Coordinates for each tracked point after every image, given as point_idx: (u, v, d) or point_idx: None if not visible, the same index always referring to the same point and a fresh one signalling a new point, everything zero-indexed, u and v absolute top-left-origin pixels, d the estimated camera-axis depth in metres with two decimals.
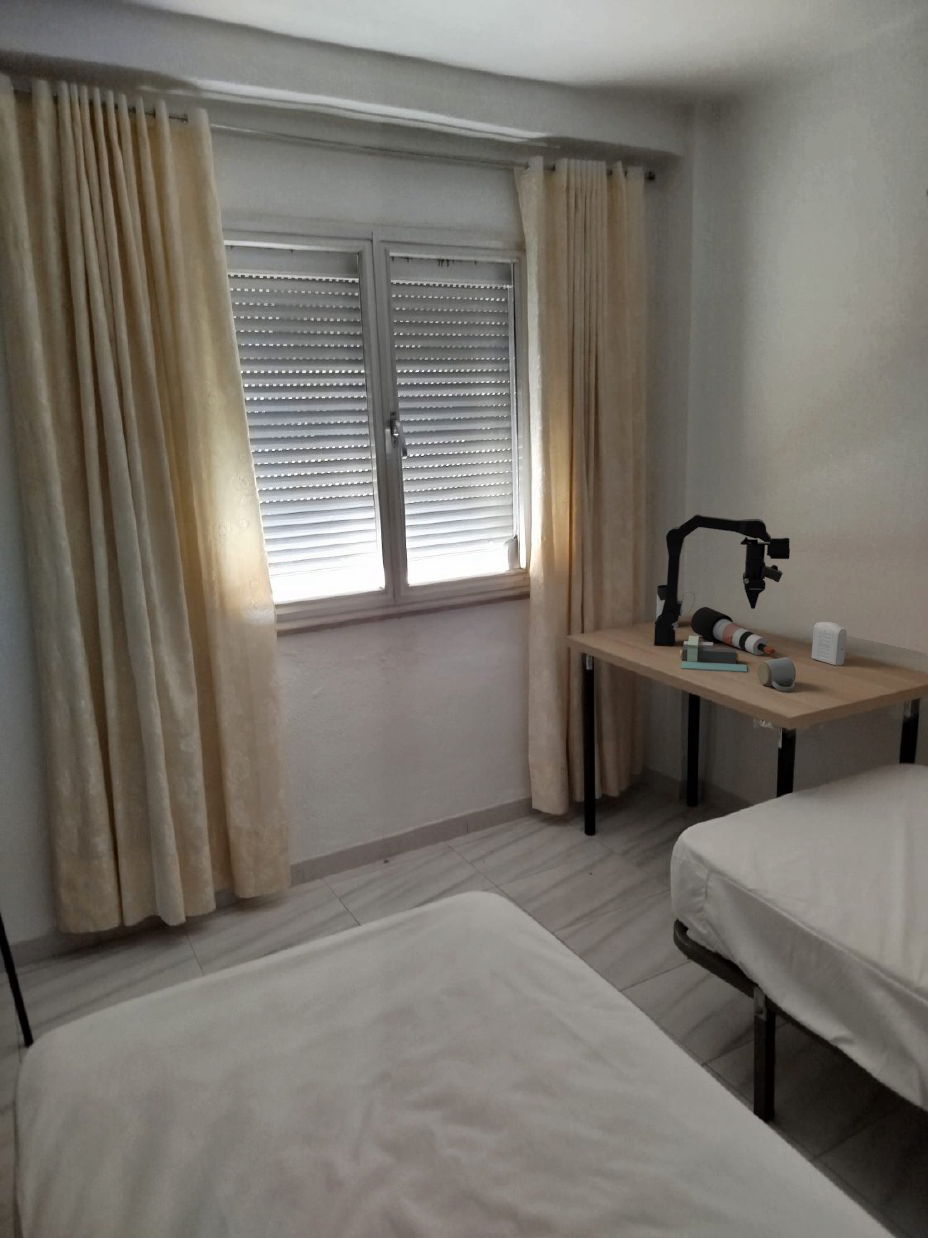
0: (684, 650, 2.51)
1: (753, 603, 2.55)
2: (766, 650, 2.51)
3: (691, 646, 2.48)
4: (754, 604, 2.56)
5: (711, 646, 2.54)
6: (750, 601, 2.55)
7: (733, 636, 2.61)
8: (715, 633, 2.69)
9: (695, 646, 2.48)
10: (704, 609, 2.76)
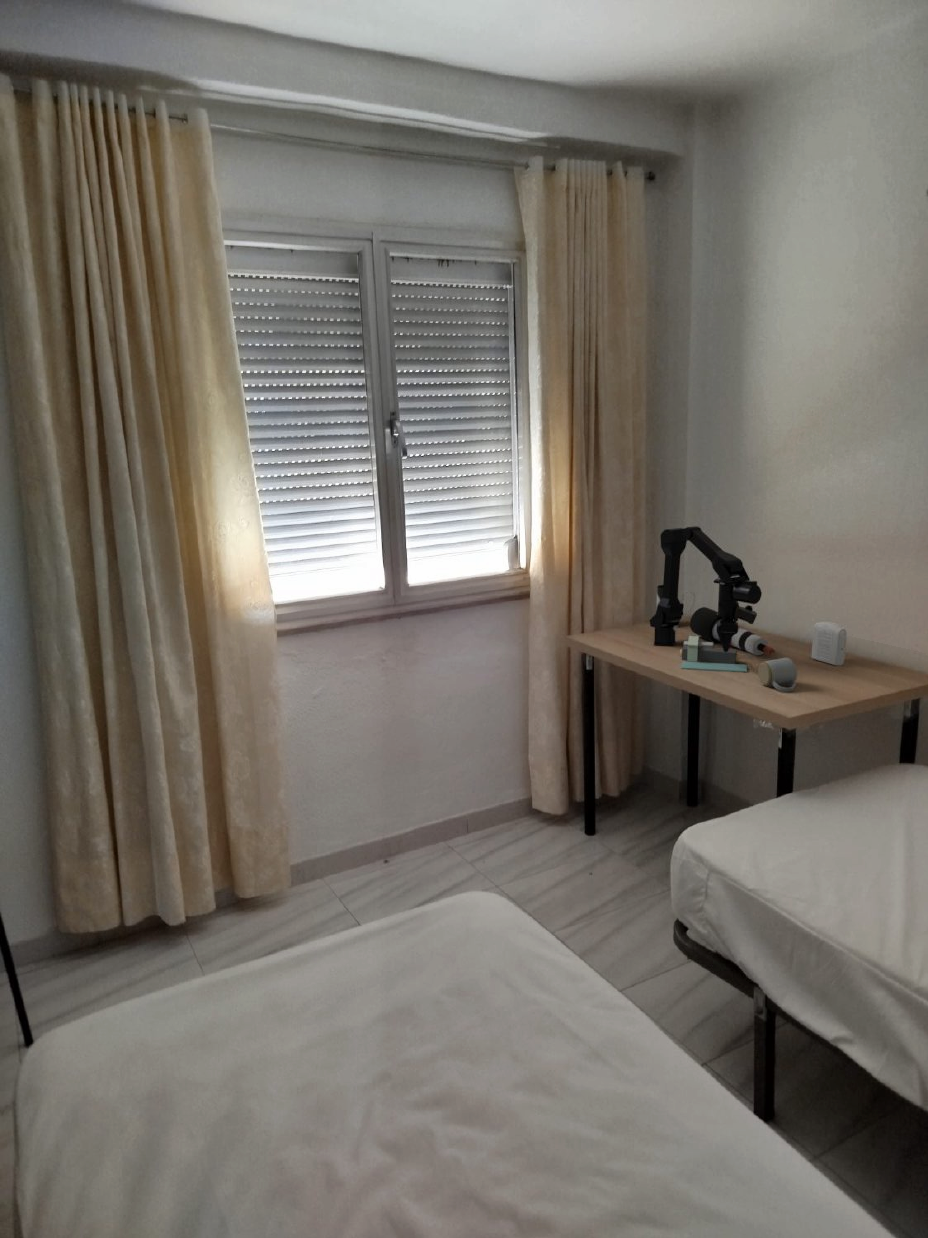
0: (684, 649, 2.52)
1: (726, 646, 2.43)
2: (766, 650, 2.51)
3: (691, 646, 2.48)
4: (727, 647, 2.43)
5: (711, 646, 2.54)
6: (723, 644, 2.43)
7: (733, 636, 2.61)
8: (714, 633, 2.69)
9: (695, 646, 2.48)
10: (703, 609, 2.76)
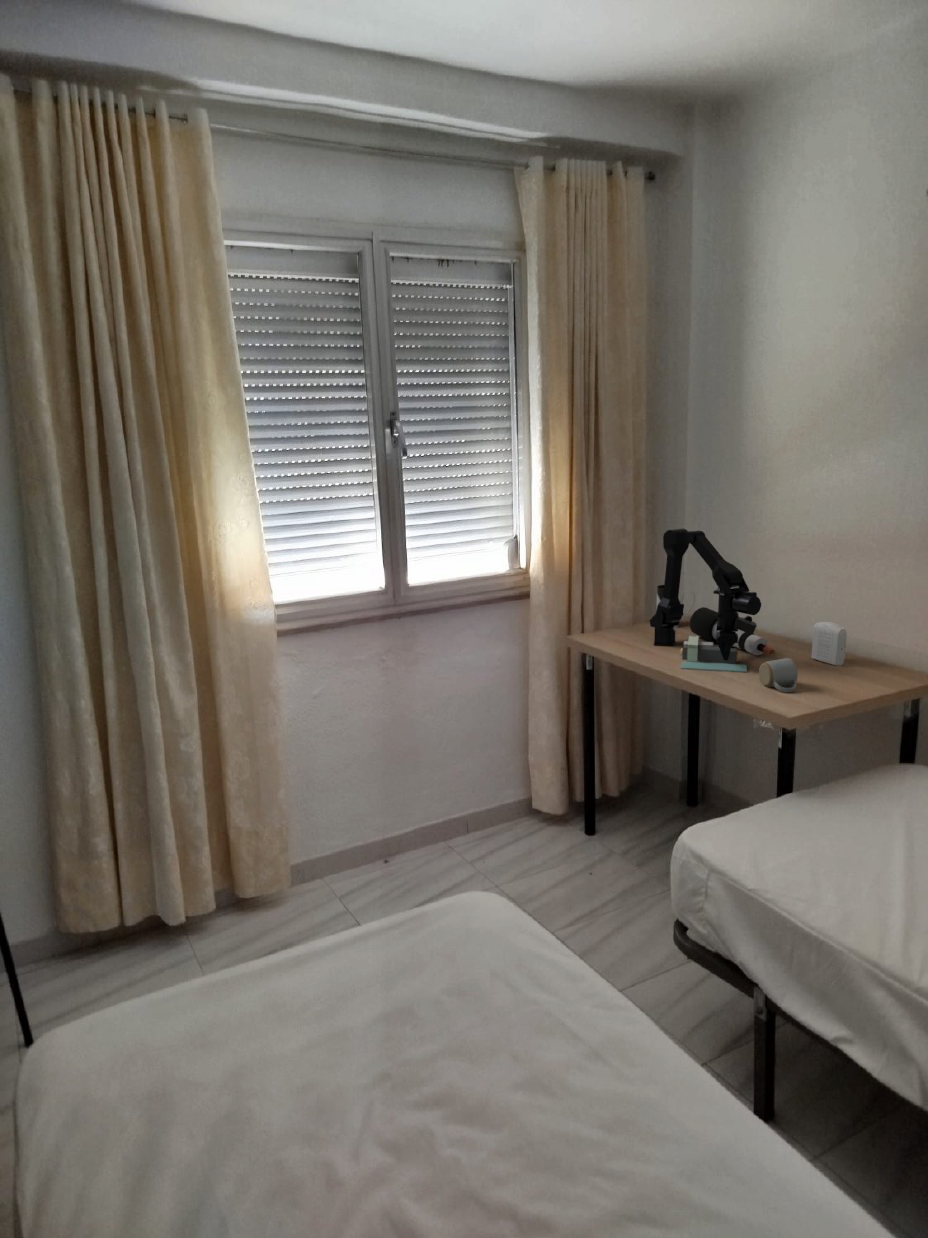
0: (684, 648, 2.52)
1: (726, 655, 2.46)
2: (766, 650, 2.51)
3: (691, 646, 2.48)
4: (727, 656, 2.46)
5: (711, 646, 2.54)
6: (723, 653, 2.46)
7: None
8: (714, 633, 2.68)
9: (695, 646, 2.48)
10: (703, 609, 2.76)
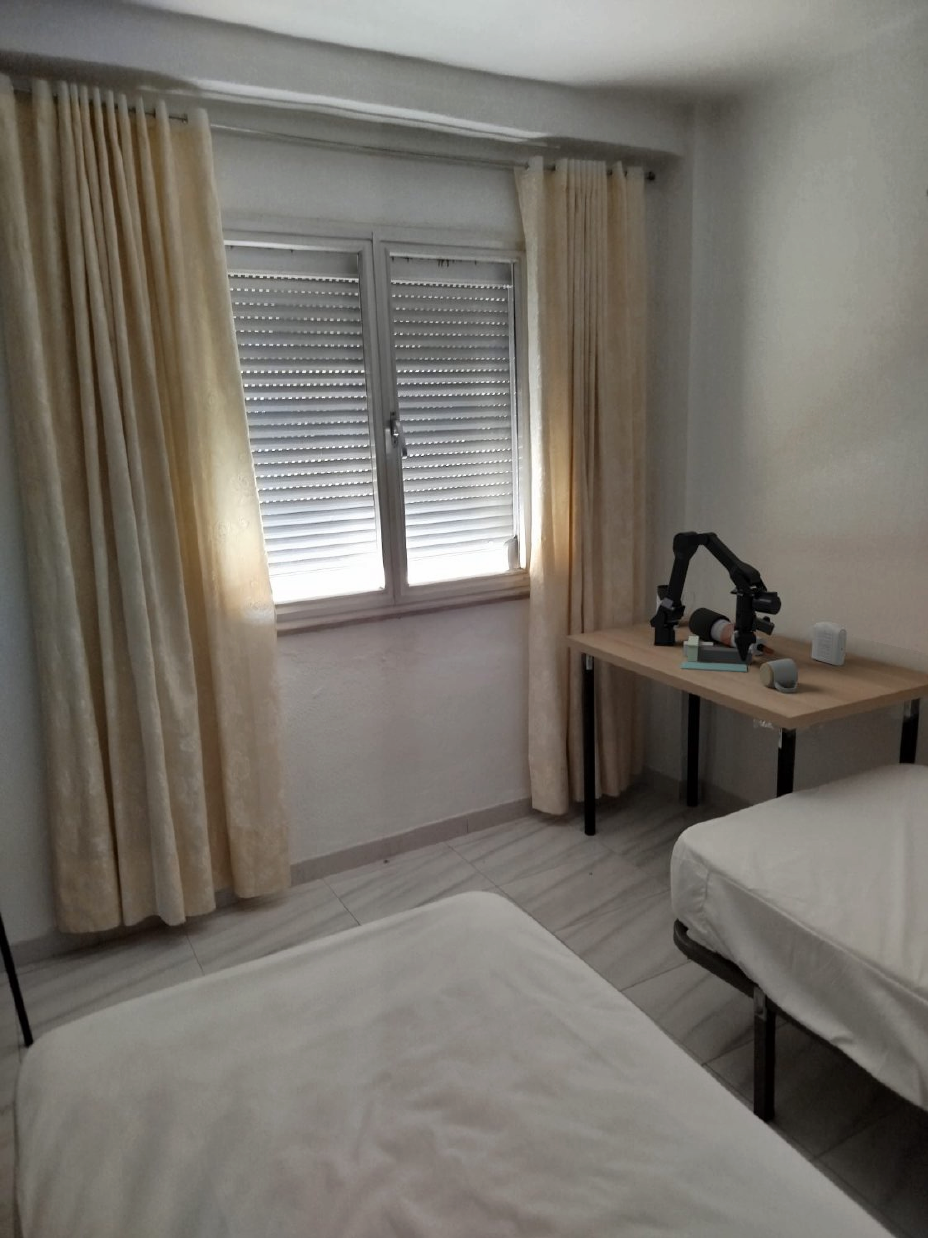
0: (699, 650, 2.50)
1: (744, 655, 2.44)
2: (766, 650, 2.51)
3: (691, 646, 2.48)
4: (745, 656, 2.44)
5: (711, 646, 2.54)
6: (740, 653, 2.44)
7: (732, 636, 2.61)
8: (713, 634, 2.68)
9: (695, 646, 2.48)
10: (701, 609, 2.76)
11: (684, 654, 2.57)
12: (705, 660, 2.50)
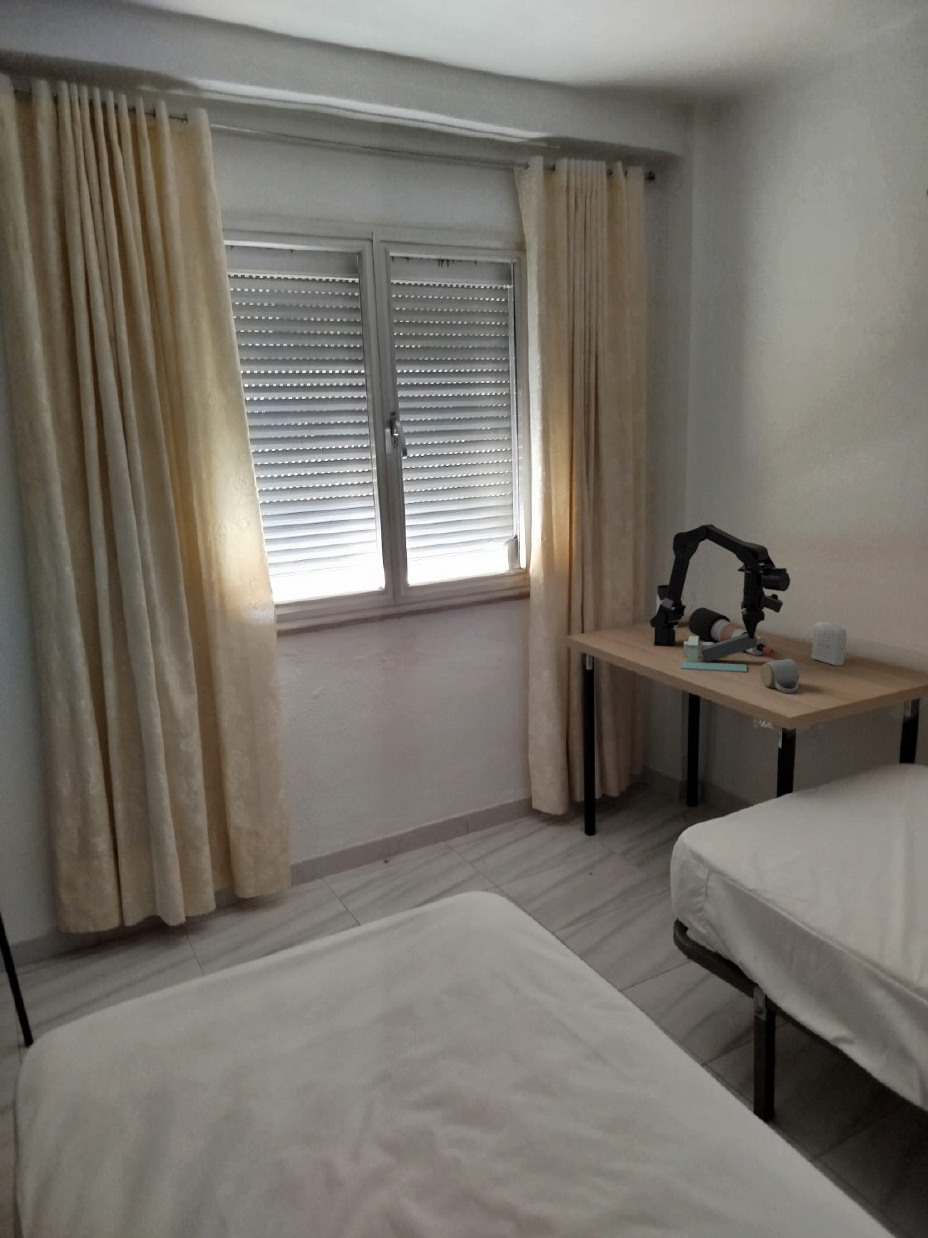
0: (703, 650, 2.49)
1: (751, 633, 2.42)
2: (765, 650, 2.51)
3: (691, 646, 2.48)
4: (753, 634, 2.42)
5: None
6: (748, 631, 2.42)
7: (732, 636, 2.61)
8: (713, 633, 2.68)
9: (695, 646, 2.48)
10: (701, 609, 2.76)
11: (684, 654, 2.57)
12: (713, 658, 2.48)
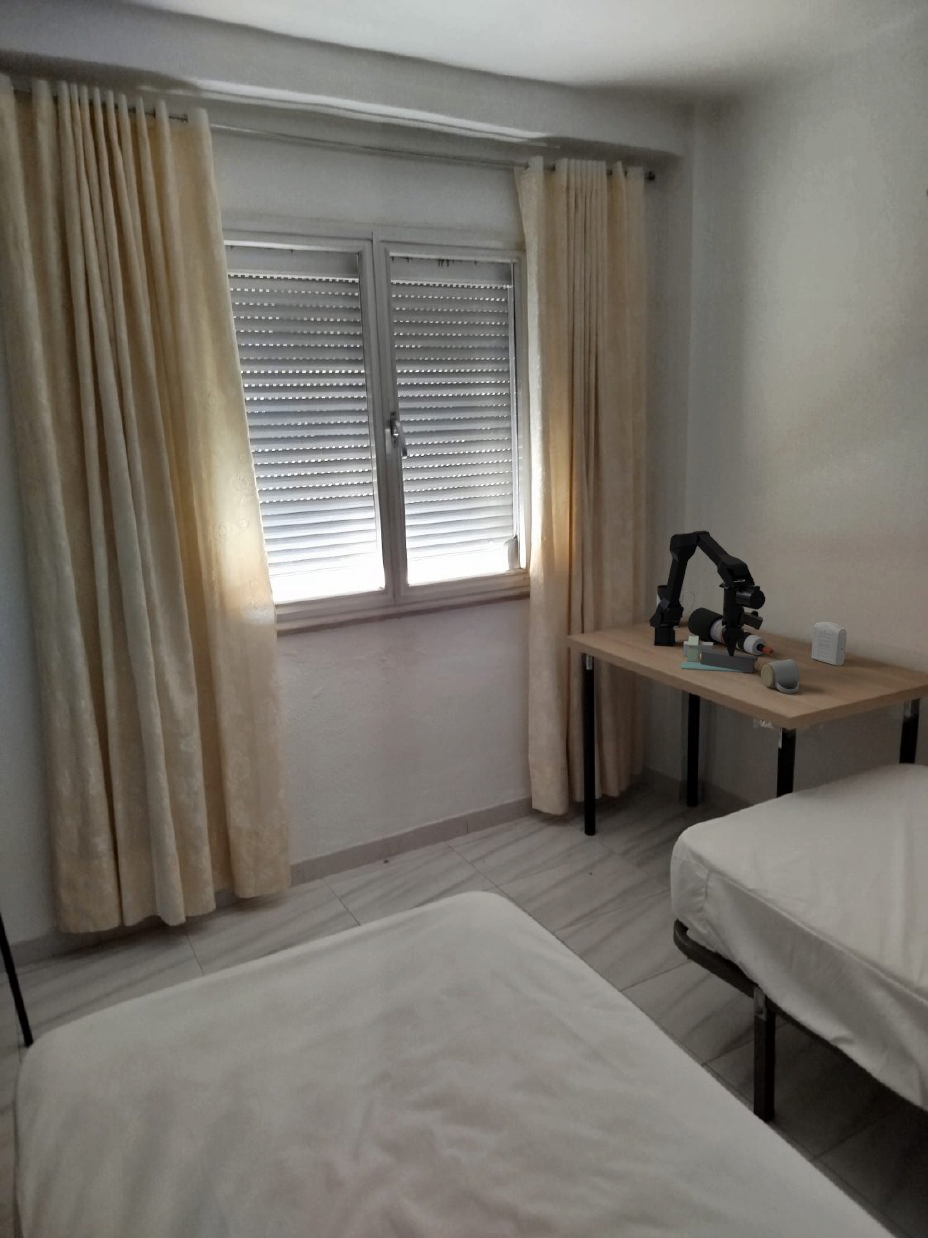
0: None
1: (731, 651, 2.38)
2: (765, 650, 2.51)
3: (691, 646, 2.48)
4: (733, 651, 2.38)
5: (711, 646, 2.54)
6: (728, 648, 2.38)
7: None
8: (713, 634, 2.68)
9: (695, 646, 2.48)
10: (701, 609, 2.76)
11: (684, 654, 2.57)
12: None
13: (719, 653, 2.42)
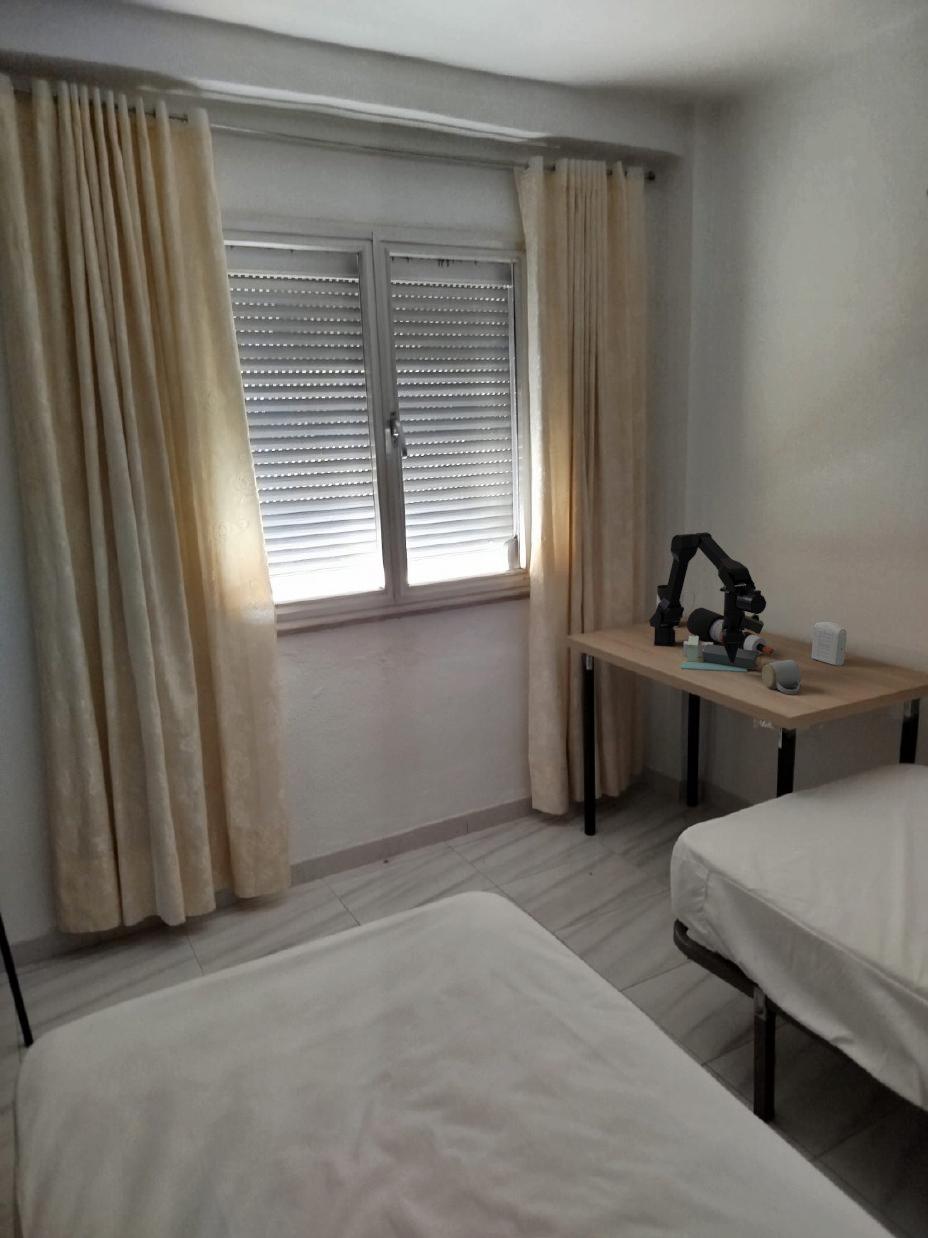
0: (704, 652, 2.46)
1: (732, 657, 2.36)
2: (765, 650, 2.51)
3: (691, 646, 2.48)
4: (734, 658, 2.36)
5: None
6: (729, 655, 2.36)
7: None
8: (712, 634, 2.68)
9: (695, 646, 2.48)
10: (700, 609, 2.76)
11: (684, 654, 2.57)
12: (711, 661, 2.46)
13: None
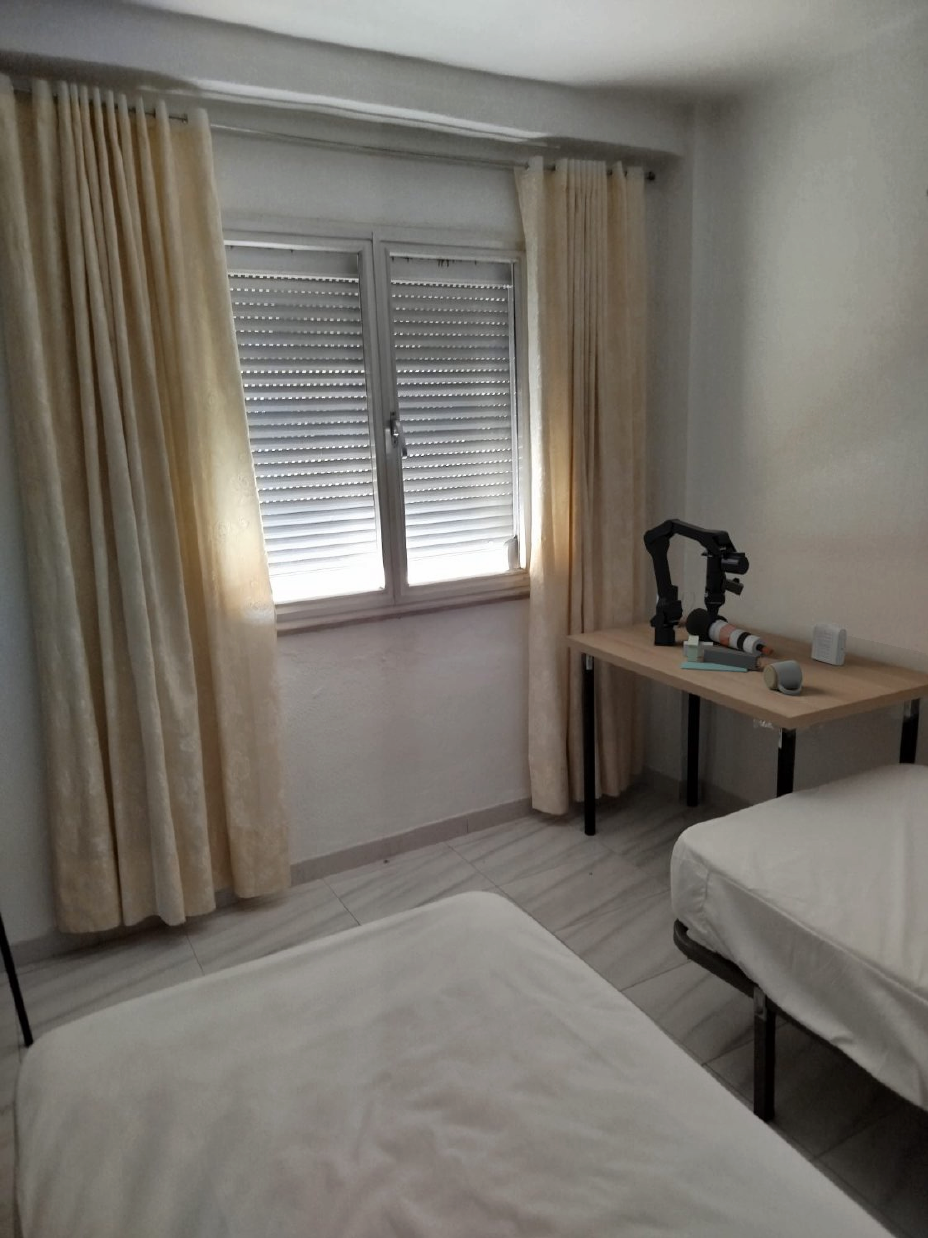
0: (706, 650, 2.47)
1: (714, 617, 2.48)
2: (765, 650, 2.51)
3: (691, 646, 2.48)
4: (715, 618, 2.48)
5: (711, 646, 2.54)
6: (710, 615, 2.48)
7: (730, 637, 2.61)
8: (711, 634, 2.68)
9: (695, 646, 2.48)
10: (698, 610, 2.75)
11: (684, 654, 2.57)
12: (711, 661, 2.46)
13: None
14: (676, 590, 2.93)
